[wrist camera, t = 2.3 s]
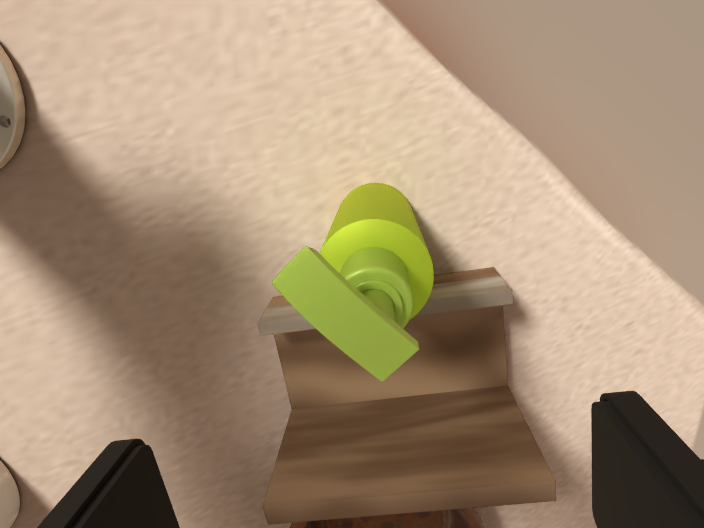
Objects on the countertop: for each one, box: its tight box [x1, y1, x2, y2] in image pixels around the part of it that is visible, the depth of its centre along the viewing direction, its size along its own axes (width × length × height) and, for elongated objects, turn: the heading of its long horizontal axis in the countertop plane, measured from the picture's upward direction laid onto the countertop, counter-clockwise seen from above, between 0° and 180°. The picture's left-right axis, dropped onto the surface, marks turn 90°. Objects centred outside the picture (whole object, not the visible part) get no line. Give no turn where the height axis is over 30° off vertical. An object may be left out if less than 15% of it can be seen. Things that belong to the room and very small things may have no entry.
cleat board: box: [257, 267, 556, 524], centre depth 32 cm, size 11×18×12 cm, turn 99°
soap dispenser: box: [272, 183, 434, 382], centre depth 25 cm, size 6×7×20 cm
